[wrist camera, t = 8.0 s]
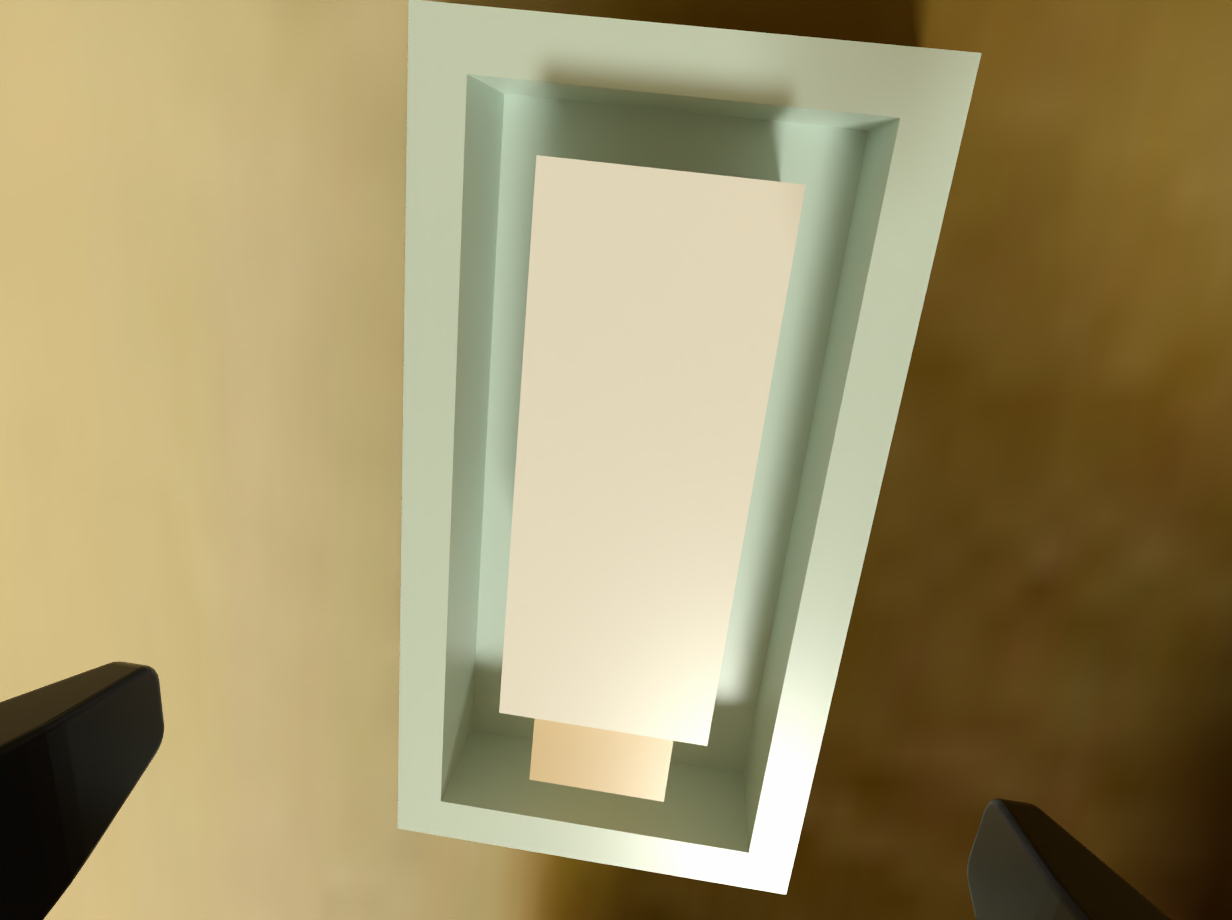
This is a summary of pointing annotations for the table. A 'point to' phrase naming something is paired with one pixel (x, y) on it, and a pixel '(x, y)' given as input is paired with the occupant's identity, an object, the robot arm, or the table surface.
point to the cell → (636, 457)
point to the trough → (794, 422)
